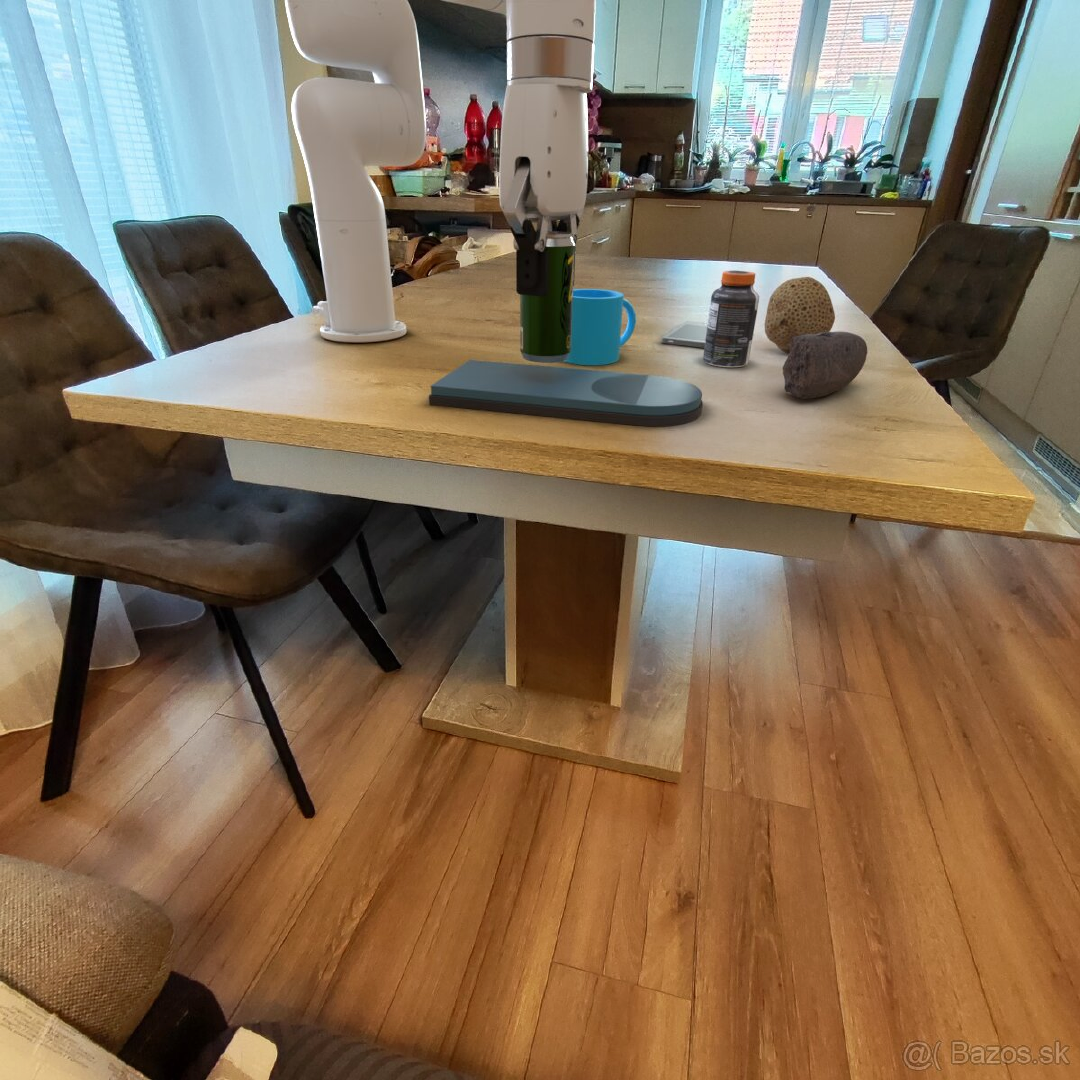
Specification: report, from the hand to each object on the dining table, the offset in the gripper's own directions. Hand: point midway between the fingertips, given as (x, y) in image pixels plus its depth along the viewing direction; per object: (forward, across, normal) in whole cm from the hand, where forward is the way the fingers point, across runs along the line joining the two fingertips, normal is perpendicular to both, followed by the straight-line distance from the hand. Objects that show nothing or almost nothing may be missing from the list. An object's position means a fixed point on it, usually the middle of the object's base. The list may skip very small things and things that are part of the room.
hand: (546, 289), depth 64 cm
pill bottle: (+11, -26, +14) cm, 32 cm away
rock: (+11, -18, +27) cm, 34 cm away
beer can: (+7, 0, 0) cm, 7 cm away
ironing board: (+11, -1, +3) cm, 12 cm away
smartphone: (+11, -40, +7) cm, 42 cm away
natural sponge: (+11, -37, +21) cm, 44 cm away
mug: (+11, -21, -2) cm, 24 cm away
